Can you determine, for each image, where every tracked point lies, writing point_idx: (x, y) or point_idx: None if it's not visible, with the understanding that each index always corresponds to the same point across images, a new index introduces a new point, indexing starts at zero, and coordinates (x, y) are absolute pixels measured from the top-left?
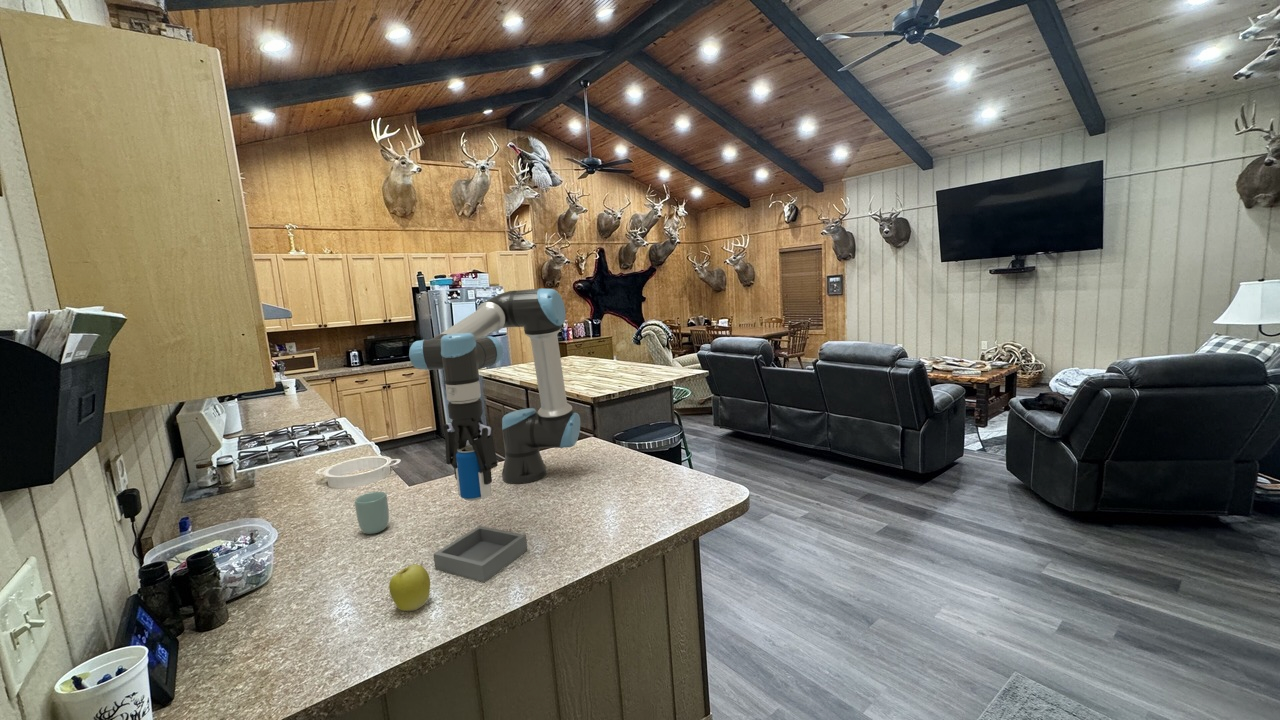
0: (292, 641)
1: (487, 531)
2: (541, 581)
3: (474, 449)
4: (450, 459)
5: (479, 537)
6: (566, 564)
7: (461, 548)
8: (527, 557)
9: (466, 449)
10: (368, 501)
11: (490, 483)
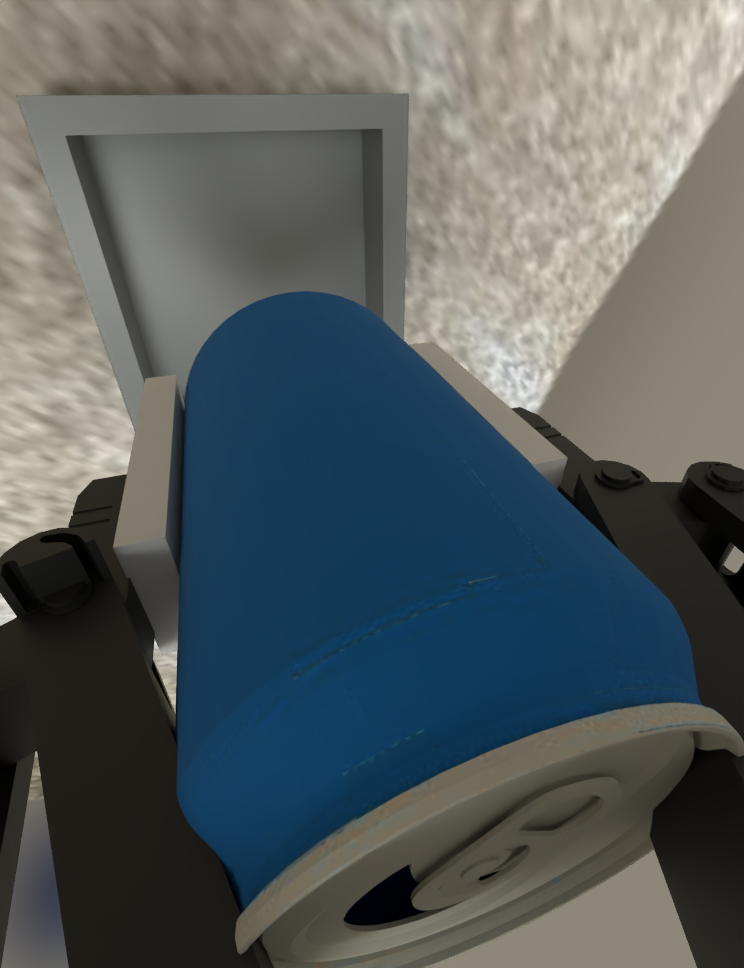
0: (170, 700)
1: (135, 133)
2: (550, 288)
3: (686, 861)
4: (18, 793)
5: (81, 149)
6: (595, 144)
7: (125, 299)
8: (420, 165)
9: (453, 896)
10: None
11: (477, 381)
